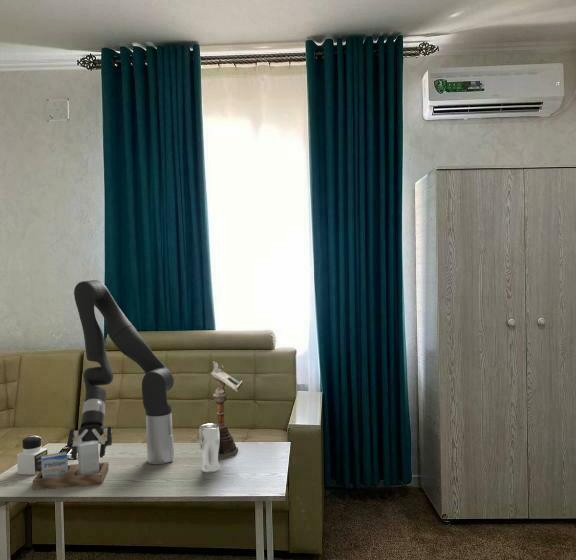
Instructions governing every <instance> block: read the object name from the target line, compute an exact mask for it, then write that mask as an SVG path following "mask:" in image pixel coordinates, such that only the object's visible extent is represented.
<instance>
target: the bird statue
mask: <svg viewBox="0 0 576 560" xmlns="http://www.w3.org/2000/svg"><path fill="white" fill-rule="evenodd" d="M212 365H213V370H212V371H211V372H210V373H209V374H210V375H211V377H212V378H213V379H214V380H215V381H216V382H217V384H218V387H217V388H215V390H214V393H213V395H212V396H213V398H214V399H213V400H214V401H213V402H215V403H216V407H217V408H216V411H217V412H216V415H217V423H216V424H217V425H219V433H220V446H219V453H218V460H219V459H222V460H224V459H228V458H233V457H236V455H237V454H238V453H239V447H237V446H236V443H235V441H234V437H233V435H232V434H231V433H230V431H229V430H228V429H229V428H228V425H227V424H226V423H225V409H224V408H225V406H224V404H225V402H226V401H227V395H228V394H227V393H226V389H225V388H224V387H225V386H228V387H229V388H231V389H232V390H233V391H234V393H238V390H239V389H241V387H242V386H243V380H242V379H241V380H240V381H239V380H237V379H236V378H234V377H233V376H231V375H229V374H228V373H227V372H225V371H224V368H225V367H224V364H221V366H220V368H219V364H218V362H216V361H212Z"/></svg>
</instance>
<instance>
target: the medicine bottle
mask: <svg viewBox="0 0 576 560" xmlns="http://www.w3.org/2000/svg"><path fill="white" fill-rule="evenodd" d="M42 445H43V444H42V437H41V436H38V435H32V436H27V437H24V438H23V439H22V451H21V452H19V453H17V454H16V460H17V461H16V462H17V475H24V476H25V475H29V476H30V475H32V476H37V475H38V474H39V472H40V471H41V470H42V463H41V456H43V455H49V454H48V448H46V447H44V448H42Z"/></svg>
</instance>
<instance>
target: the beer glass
mask: <svg viewBox="0 0 576 560" xmlns="http://www.w3.org/2000/svg"><path fill="white" fill-rule="evenodd" d="M198 434H199V435H198V436H199V449H200V451H201V457H202V465H201V466H202V467H201V471H202V472H203V473H208V474H209V473H210V474H212V473H216V472H219V470H220V469H221V468H220V463H219V459H218V453H219V446H220V433H219V425H217V423H205V424H202V425H200V426H199V433H198Z"/></svg>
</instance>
